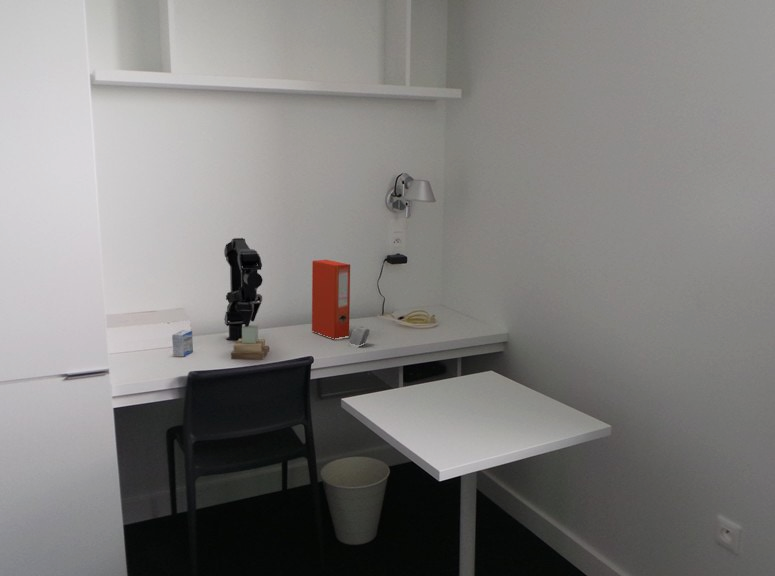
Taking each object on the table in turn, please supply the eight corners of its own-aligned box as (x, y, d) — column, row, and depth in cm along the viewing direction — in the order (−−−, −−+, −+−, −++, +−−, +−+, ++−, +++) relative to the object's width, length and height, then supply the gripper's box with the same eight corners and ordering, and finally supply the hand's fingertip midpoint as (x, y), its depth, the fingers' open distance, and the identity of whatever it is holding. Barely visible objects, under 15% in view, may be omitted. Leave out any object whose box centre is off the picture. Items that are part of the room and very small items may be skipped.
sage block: (245, 340, 268) (245, 325, 267) (258, 340, 268) (257, 325, 267) (242, 343, 263) (241, 327, 262) (255, 343, 263) (254, 328, 262)
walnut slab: (239, 352, 273) (238, 345, 272) (269, 353, 272) (269, 345, 272) (231, 360, 261) (230, 353, 260) (262, 361, 260) (262, 354, 260)
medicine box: (183, 357, 262) (182, 335, 261) (172, 356, 263) (171, 334, 261) (193, 352, 270) (192, 330, 268) (182, 351, 271) (182, 329, 269)
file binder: (327, 330, 309) (327, 259, 304) (349, 337, 296) (350, 264, 290) (311, 332, 304) (311, 260, 299) (334, 340, 291) (334, 265, 285)
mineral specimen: (365, 347, 278) (361, 328, 277) (348, 348, 283) (344, 329, 282) (375, 343, 284) (371, 324, 283) (358, 344, 289) (354, 325, 288)
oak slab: (239, 346, 271) (239, 338, 270) (265, 346, 271) (264, 339, 270) (234, 352, 261) (233, 345, 260) (260, 353, 261) (260, 345, 260)
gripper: (234, 279, 271) (235, 318, 274) (221, 287, 253) (222, 328, 255) (262, 280, 271) (262, 318, 273) (251, 288, 252) (252, 329, 255)
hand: (249, 323), depth 264 cm, fingers open, 9 cm apart
